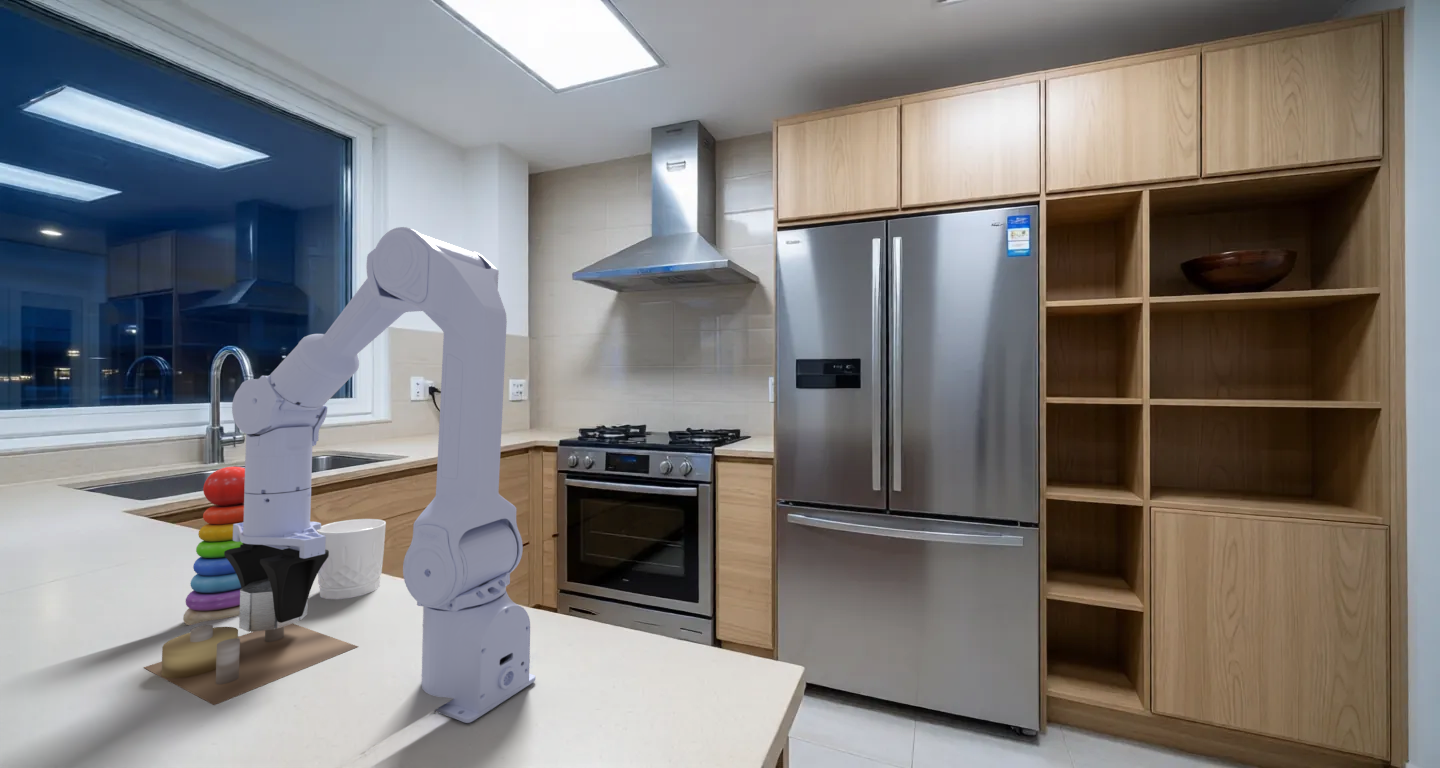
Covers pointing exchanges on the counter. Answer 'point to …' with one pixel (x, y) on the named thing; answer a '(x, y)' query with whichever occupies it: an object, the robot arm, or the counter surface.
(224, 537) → the stacking toy
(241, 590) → the gear ring
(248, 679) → the board
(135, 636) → the counter surface
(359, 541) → the white cup
